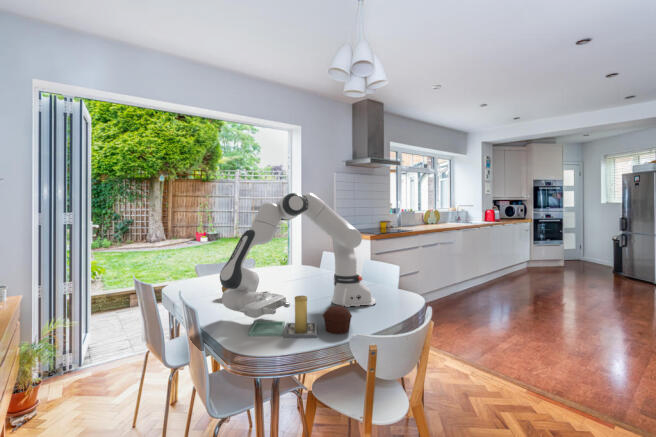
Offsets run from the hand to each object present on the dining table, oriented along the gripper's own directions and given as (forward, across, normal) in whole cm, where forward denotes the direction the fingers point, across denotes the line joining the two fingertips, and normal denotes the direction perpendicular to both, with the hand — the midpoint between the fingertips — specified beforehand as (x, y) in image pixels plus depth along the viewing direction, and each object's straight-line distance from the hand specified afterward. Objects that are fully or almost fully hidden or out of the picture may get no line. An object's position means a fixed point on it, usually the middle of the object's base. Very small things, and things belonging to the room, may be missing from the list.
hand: (281, 308), depth 128 cm
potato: (-48, +24, +9) cm, 54 cm away
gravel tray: (+9, 0, +8) cm, 12 cm away
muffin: (+21, +8, +9) cm, 24 cm away
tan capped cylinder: (+9, 0, +7) cm, 12 cm away
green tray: (-3, -5, +8) cm, 10 cm away
